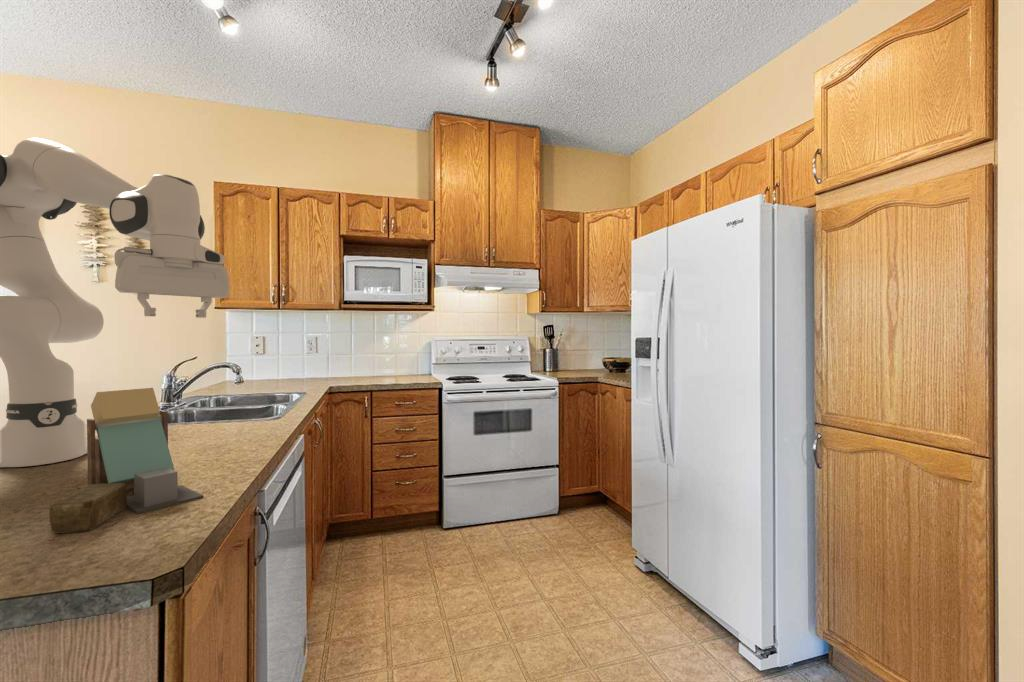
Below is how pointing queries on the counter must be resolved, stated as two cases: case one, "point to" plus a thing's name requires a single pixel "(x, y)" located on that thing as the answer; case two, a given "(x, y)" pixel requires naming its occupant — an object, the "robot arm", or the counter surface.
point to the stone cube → (155, 486)
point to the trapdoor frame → (96, 460)
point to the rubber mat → (183, 496)
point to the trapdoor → (130, 433)
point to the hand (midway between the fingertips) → (176, 317)
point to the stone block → (87, 507)
